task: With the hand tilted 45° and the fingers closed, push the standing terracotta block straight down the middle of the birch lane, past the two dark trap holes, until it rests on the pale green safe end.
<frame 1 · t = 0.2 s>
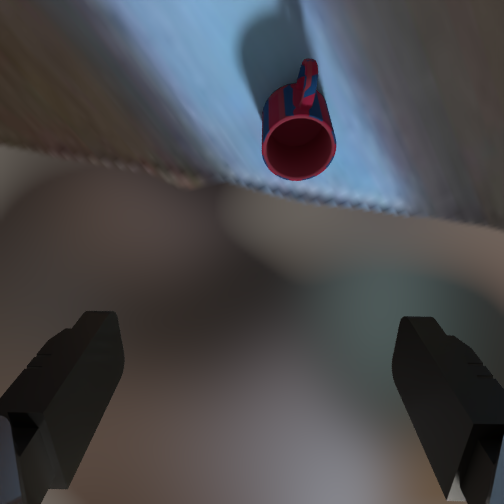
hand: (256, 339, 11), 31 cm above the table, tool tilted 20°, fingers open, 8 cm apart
mug: (299, 99, 37), on the table
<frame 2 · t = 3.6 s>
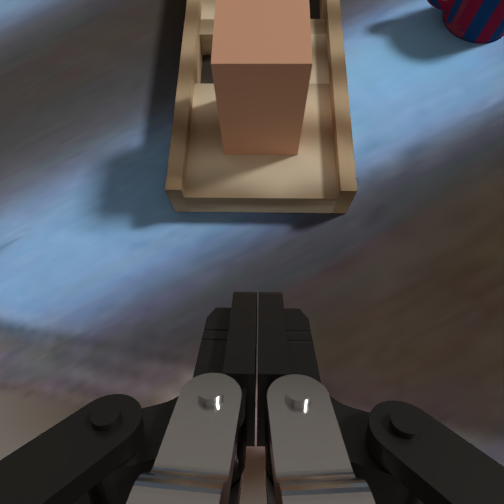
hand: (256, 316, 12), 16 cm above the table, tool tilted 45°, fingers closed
mug: (457, 19, 39), on the table
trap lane: (262, 49, 38), on the table
terracotta block: (261, 124, 31), point 2 cm above the table, touching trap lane
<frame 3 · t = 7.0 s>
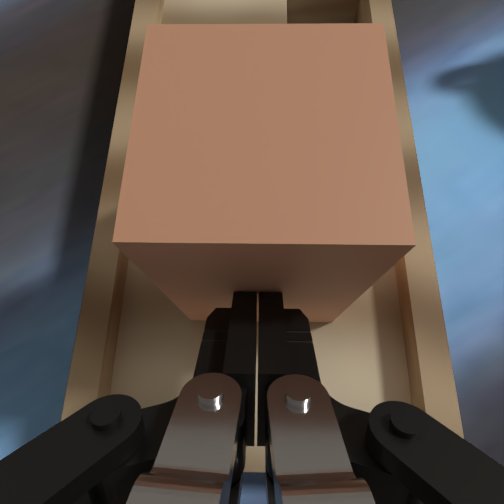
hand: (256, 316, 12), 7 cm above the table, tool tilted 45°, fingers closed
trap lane: (261, 116, 23), on the table
terracotta block: (261, 255, 17), point 3 cm above the table
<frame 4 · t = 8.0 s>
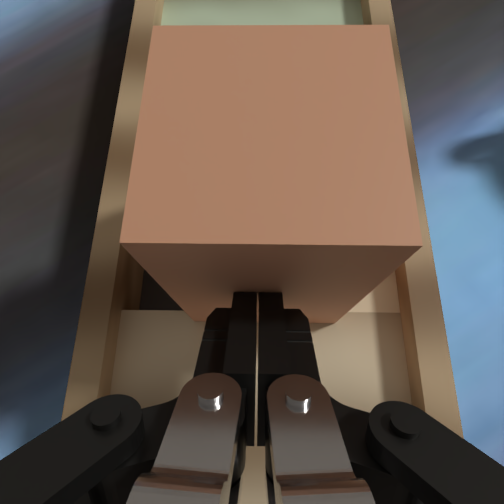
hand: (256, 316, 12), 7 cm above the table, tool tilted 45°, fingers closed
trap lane: (260, 196, 21), on the table
terracotta block: (264, 256, 17), point 3 cm above the table, touching gripper
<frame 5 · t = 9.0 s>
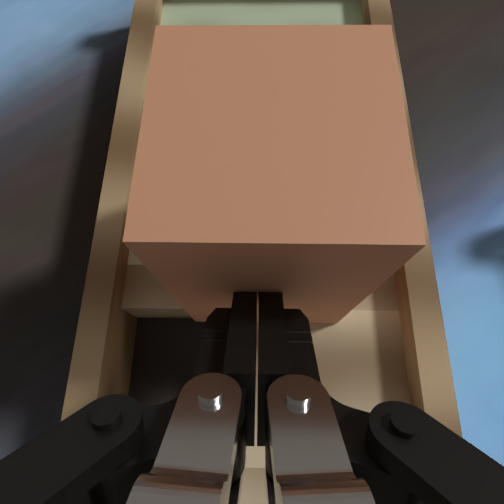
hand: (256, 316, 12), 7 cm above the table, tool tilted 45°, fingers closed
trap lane: (259, 299, 19), on the table
terracotta block: (265, 256, 17), point 3 cm above the table, touching gripper
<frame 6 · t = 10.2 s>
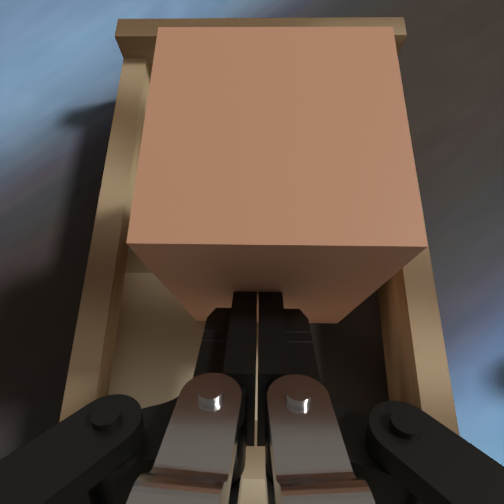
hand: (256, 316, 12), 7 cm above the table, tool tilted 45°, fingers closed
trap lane: (256, 440, 16), on the table
terracotta block: (266, 256, 17), point 3 cm above the table, touching gripper
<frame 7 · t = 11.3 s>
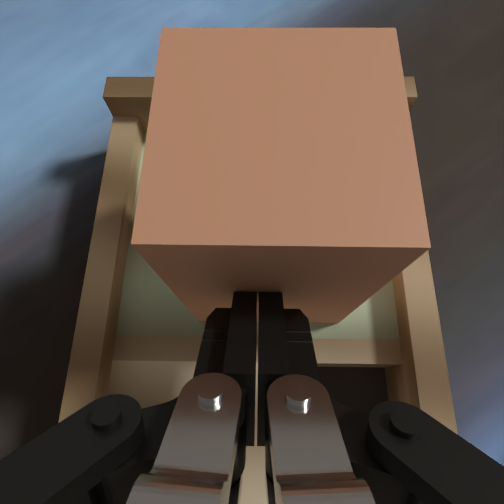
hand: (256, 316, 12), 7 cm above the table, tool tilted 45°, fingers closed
terracotta block: (268, 256, 17), point 3 cm above the table, touching gripper
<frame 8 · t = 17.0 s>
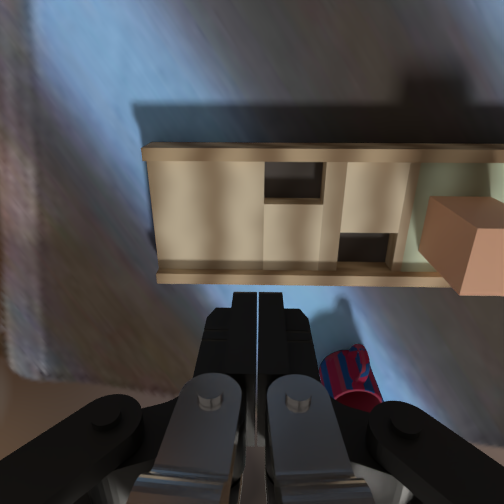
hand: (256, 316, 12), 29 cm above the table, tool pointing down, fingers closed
mug: (347, 359, 49), on the table
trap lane: (327, 211, 40), on the table
terracotta block: (453, 224, 38), point 2 cm above the table, touching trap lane
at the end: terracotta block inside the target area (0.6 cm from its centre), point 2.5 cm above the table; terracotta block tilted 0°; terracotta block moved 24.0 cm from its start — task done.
